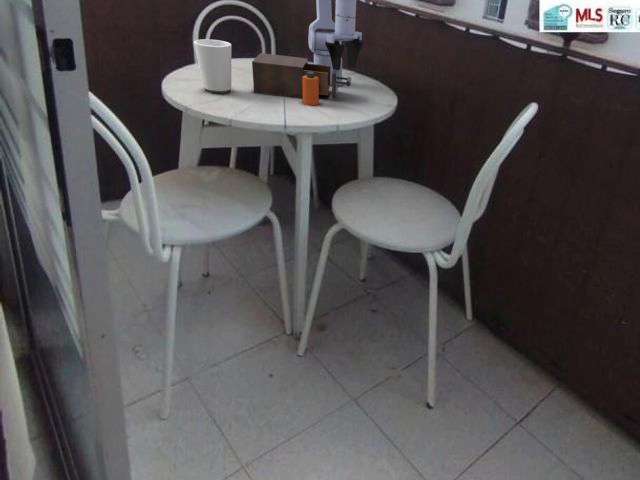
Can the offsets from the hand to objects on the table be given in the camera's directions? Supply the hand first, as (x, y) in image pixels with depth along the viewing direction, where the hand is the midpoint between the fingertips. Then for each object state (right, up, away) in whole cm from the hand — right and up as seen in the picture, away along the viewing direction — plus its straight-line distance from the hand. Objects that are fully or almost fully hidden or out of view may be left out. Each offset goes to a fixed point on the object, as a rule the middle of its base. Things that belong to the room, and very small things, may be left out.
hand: (343, 68), depth 152 cm
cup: (-37, -8, -2) cm, 38 cm away
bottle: (-10, -11, -1) cm, 15 cm away
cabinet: (-21, -4, +7) cm, 22 cm away
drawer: (-8, -3, +8) cm, 12 cm away
